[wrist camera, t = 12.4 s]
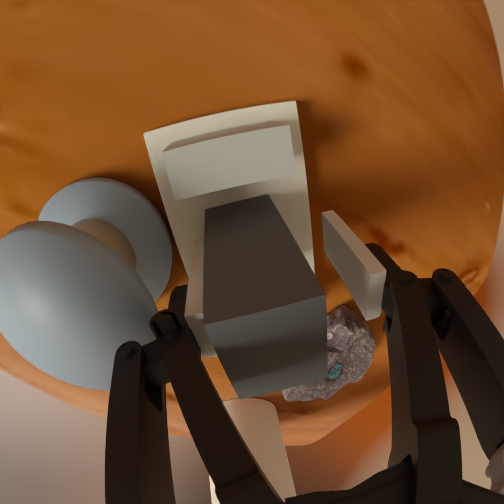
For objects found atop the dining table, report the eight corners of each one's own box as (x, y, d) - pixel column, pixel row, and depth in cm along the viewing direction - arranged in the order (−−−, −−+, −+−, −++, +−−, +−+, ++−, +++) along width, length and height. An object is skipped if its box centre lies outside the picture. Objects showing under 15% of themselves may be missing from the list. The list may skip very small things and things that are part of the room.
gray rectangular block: (204, 209, 17) (202, 325, 9) (268, 193, 17) (325, 294, 9) (224, 274, 20) (239, 399, 11) (280, 260, 20) (327, 377, 11)
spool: (23, 204, 16) (-43, 261, 9) (146, 156, 16) (98, 199, 9) (79, 315, 21) (50, 389, 14) (191, 293, 22) (188, 382, 15)
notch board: (147, 131, 15) (126, 141, 11) (290, 100, 16) (316, 101, 12) (209, 323, 24) (211, 366, 20) (312, 299, 24) (330, 338, 20)
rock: (382, 306, 26) (403, 337, 22) (333, 376, 31) (345, 406, 27) (313, 298, 24) (331, 335, 20) (272, 376, 29) (279, 410, 25)
